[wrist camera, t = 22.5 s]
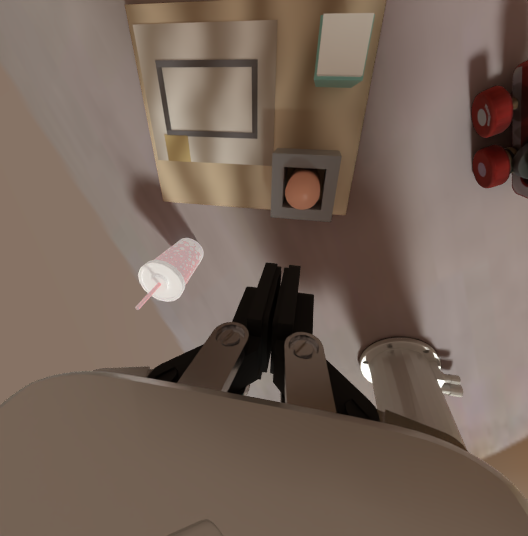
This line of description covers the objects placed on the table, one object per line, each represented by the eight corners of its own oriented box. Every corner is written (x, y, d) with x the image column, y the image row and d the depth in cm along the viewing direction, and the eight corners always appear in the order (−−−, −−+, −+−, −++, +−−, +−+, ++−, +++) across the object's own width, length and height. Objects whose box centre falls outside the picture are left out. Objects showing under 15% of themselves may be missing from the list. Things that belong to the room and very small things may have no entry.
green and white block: (357, 44, 24) (378, 8, 15) (349, 88, 26) (365, 78, 17) (320, 44, 25) (320, 9, 16) (315, 87, 26) (313, 77, 18)
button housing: (339, 150, 29) (341, 156, 26) (329, 210, 33) (330, 222, 29) (277, 147, 30) (272, 153, 27) (275, 206, 34) (270, 217, 30)
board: (386, -5, 23) (388, -9, 22) (344, 213, 33) (345, 215, 33) (128, 6, 26) (123, 4, 26) (165, 200, 37) (162, 201, 36)
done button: (321, 166, 30) (322, 176, 26) (318, 197, 32) (317, 210, 28) (290, 164, 30) (286, 174, 26) (288, 195, 32) (284, 208, 28)
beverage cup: (174, 227, 39) (111, 278, 27) (211, 242, 39) (165, 298, 28) (169, 259, 42) (112, 316, 31) (204, 272, 43) (160, 335, 31)
